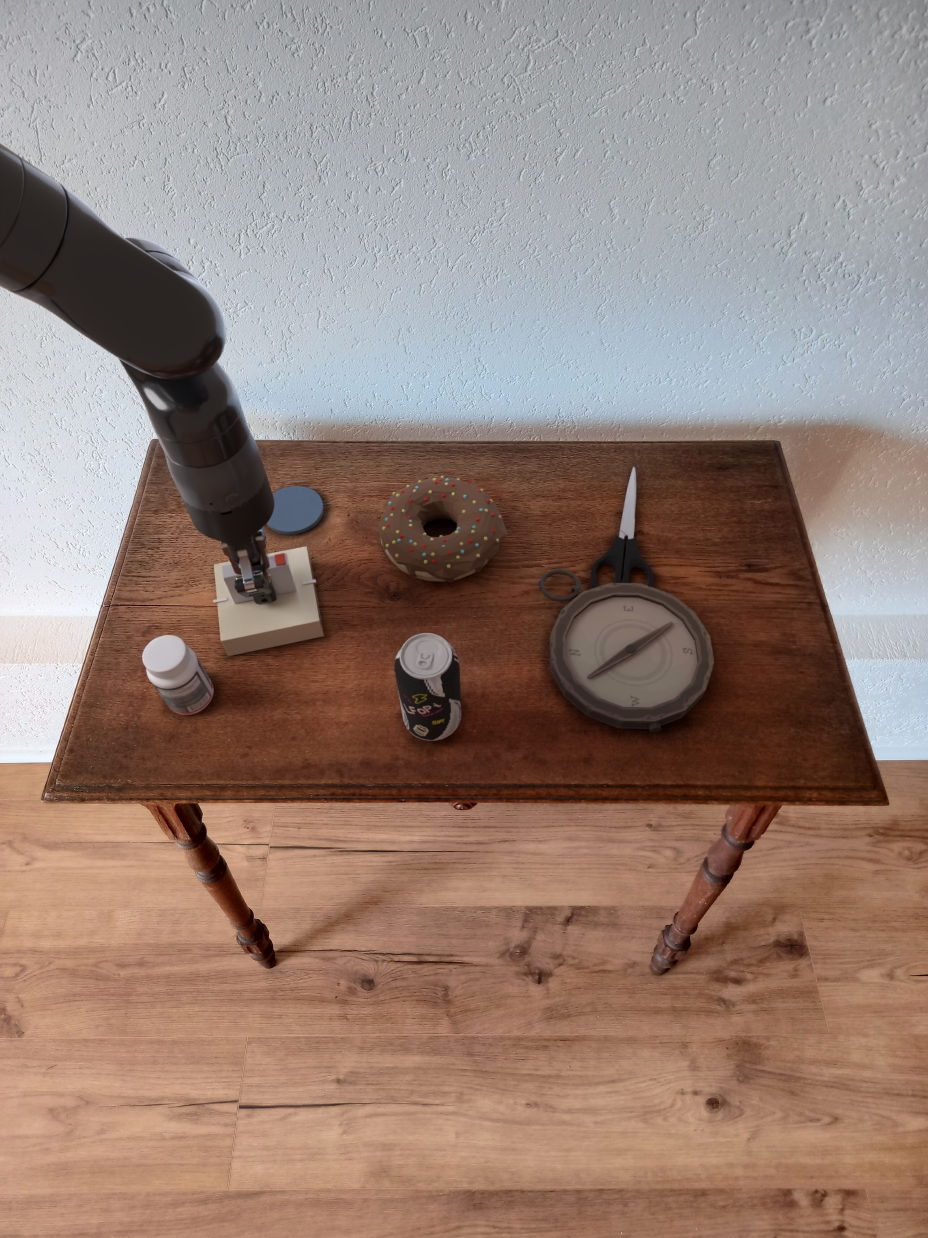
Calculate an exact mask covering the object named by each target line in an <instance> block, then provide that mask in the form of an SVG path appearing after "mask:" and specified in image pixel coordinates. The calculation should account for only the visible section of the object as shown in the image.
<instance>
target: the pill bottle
mask: <svg viewBox="0 0 928 1238" xmlns="http://www.w3.org/2000/svg"><path fill="white" fill-rule="evenodd" d="M141 657H142V658H141V659H142V663H143V665H144V667H145V668H146V669H145V671H146V676H147V678H148V680H149V682H151V684H152V685H153V687H154V688H155V690H156V691H157V692H158V694H159V695H160V697H161V698H162V699H163V701H164V702H165V704H166V706H167V707H168V708H169V709H170V710H171V711H172V712H174V713H176V714H178V715H183V716H190V715H195V714H197V713H200V712H201V711H203V710H204V709H205V708H207V706H208V705H209V704H210V702H211V701H212V699H213V696H214V693H215V691H214V690H215V688H214V684H213V681H212V680H211V678H210V677H209V675H208V673H207V671H206V669H205V668H204V666H203V665H202V663H201V660H200V659H199V658H198V656H197V654H196V653H195V651H194V650H193V649H192V648H191V647H189V646H188V645H187V644H186V643H185V641H184V640H183V639H182V638H180V637H179V636H176V635H173V634H164V635H161V636H157V637H155V638H154V639H152V640H150V641H149V643H147V645H145V647H144V649H143V652H142V655H141Z"/></svg>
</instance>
